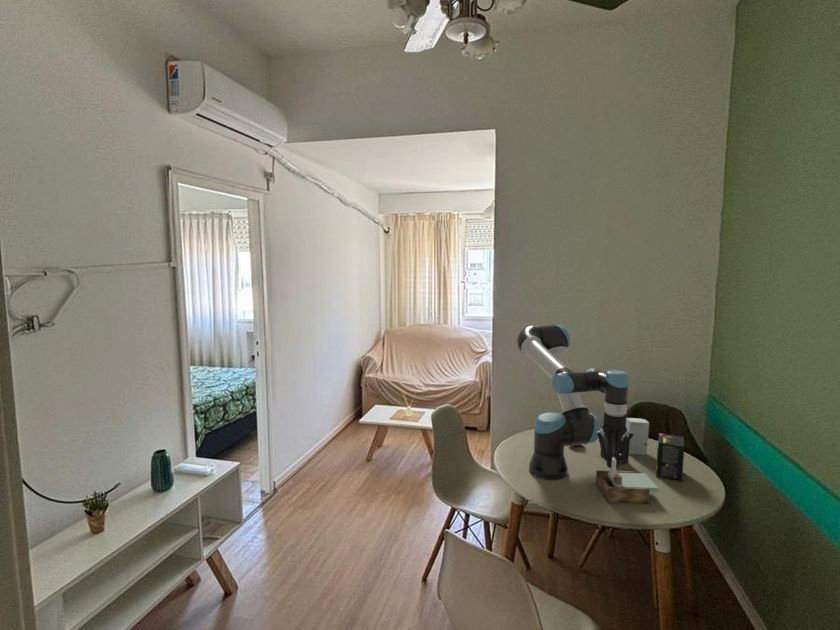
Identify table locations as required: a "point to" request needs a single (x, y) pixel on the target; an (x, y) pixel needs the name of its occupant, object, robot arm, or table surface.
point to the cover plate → (633, 481)
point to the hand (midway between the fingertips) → (612, 475)
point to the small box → (626, 458)
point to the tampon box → (670, 457)
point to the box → (620, 490)
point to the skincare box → (638, 435)
